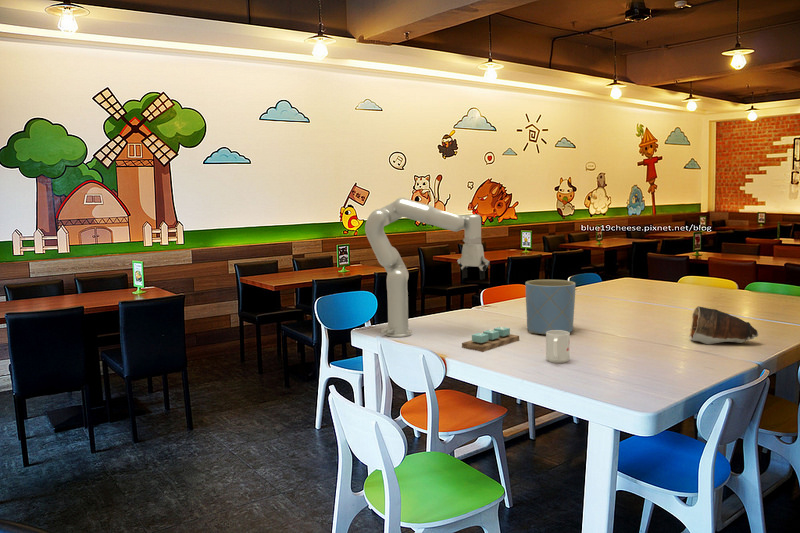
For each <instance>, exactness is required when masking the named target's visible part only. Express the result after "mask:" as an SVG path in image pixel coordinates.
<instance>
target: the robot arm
mask: <svg viewBox="0 0 800 533" xmlns="http://www.w3.org/2000/svg"><path fill="white" fill-rule="evenodd" d="M402 218H405V219H409V220H413V221H416V222H420V223H423V224H426V225H429V226H430V225H431V226H435V227H438V228H441V229H444V230H448V231H451V232H460V231H462V230H464V238H463V239H462V242H464V244H463V245H462V250H461V257H459V258H458V259H457V261H456V262H457V264H458V266H459V267H460V269H461V277H462V279H466V278H468V268H469V267H477V268H479V280H485V279H486V270H487V269H488V268H489V265H490V263H491V261H490V260H488V259H487V258H485V251H484V246H483V244H482V216H481V215H480V214H465V215H464V214H456V213H451V212H448V211H444V210H441V209H439V208H436V207H434V206H432V205H430V204H426V203H423V202H419V201H415V200H411V199H409V198H406V197H399V198H397V199H396V200H394V201H393V202H391V203H389V204H386V205H385V206H382V207H381V208H377V209H375V210H373V211H371V213H369V215H368V217H367V220H366V222H365V225H364V231H365V235H366V238H367V240H368V242H369V244H370V247H371V249H372V251H373V253H374V256H375V257H376V259H377V262H378V263H379V265H381V267H383V268H384V270H385V272H386V273H387V275H386V291H387V292H386V294H387V325H386V328H381V329H380V332H381V333H380V334H384V335H385V336H387V337H390V338H406V337H409V336H411V335H412V333H413V332H412V331H411V330H409V296H408V295H409V292H408V280H409V276H410V275H409V271H408V268H407V266H406V264H405V263H404V261H403V258H402V257H401V254H400V253H399V251H398V249H397V248H395V246H392V244H391V242H390V240H389V238H388V236H387V234H386V232H385V230H384V228H385V226H388V225H390V224H391V223H394V222H396V221H398V220H400V219H402Z"/></svg>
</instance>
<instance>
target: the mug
mask: <svg viewBox="0 0 800 533" xmlns="http://www.w3.org/2000/svg"><path fill="white" fill-rule="evenodd" d="M570 337H571V332H567V331H563V330H550V331H547V332H546V334H545V358H546V360H547V361H548V362H549V363H554V364H564V363H567V362H568V361H570V357H571V356H570V353H571V352H570V351H571V350H570V348H571V347H570V346H571V345H570V344H571V338H570Z"/></svg>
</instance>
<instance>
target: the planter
mask: <svg viewBox="0 0 800 533" xmlns="http://www.w3.org/2000/svg"><path fill="white" fill-rule="evenodd" d="M524 284H525V308H526V310H525V311H526V327H527V328H526V329H527V330H528V333H529V334H539V335H540V334H541V335H546V332H547V331H550V330H563V331H567V332H569V333H572V331H574V319H575V318H574V316H575V305H576V304H575V303H576V302H575V301H576V300H575V299H576V285H577V284H576V282H575V281H572V280H565V279H534V280H532V279H530V280H527V281H525V283H524Z"/></svg>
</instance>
